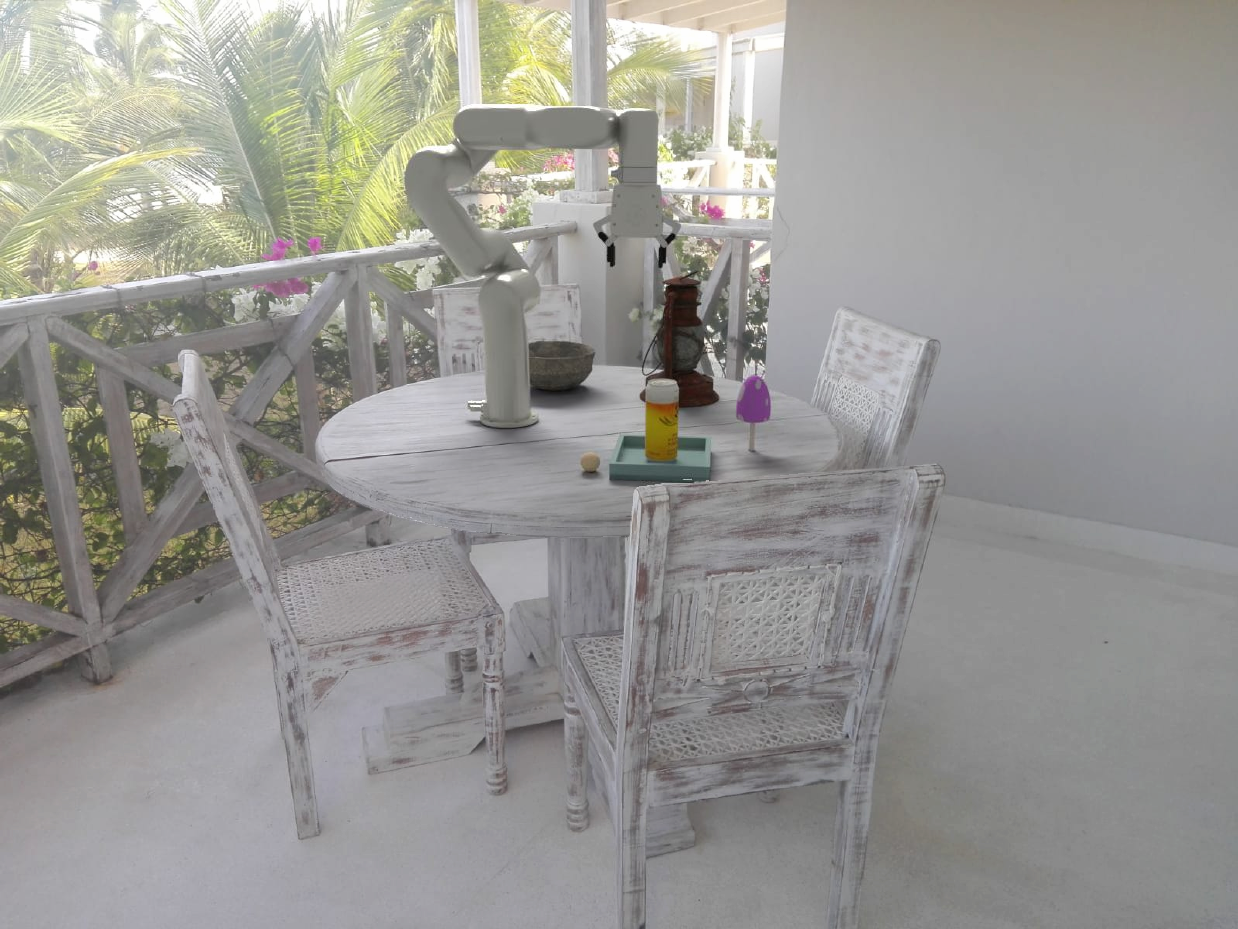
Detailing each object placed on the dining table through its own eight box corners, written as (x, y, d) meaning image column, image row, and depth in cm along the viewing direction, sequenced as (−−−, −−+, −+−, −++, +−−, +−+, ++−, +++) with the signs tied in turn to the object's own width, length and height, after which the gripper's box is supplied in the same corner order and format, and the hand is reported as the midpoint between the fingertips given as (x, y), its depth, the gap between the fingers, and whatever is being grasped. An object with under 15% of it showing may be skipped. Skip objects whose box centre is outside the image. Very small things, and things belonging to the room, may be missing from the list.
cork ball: (579, 474, 173) (579, 455, 171) (582, 467, 176) (581, 449, 175) (598, 474, 172) (598, 456, 171) (601, 468, 176) (601, 449, 174)
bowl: (594, 399, 222) (594, 358, 219) (507, 399, 223) (505, 357, 219) (597, 378, 242) (597, 340, 239) (517, 378, 242) (516, 339, 239)
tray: (609, 479, 170) (609, 463, 169) (619, 448, 187) (619, 434, 186) (709, 482, 168) (709, 466, 167) (710, 451, 185) (711, 436, 184)
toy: (760, 457, 182) (764, 381, 177) (728, 451, 185) (731, 376, 180) (773, 448, 187) (778, 374, 182) (743, 442, 191) (746, 370, 186)
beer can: (674, 465, 174) (676, 386, 169) (642, 463, 175) (643, 385, 170) (679, 455, 180) (681, 378, 175) (648, 453, 181) (648, 377, 176)
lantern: (657, 384, 236) (659, 262, 227) (729, 392, 229) (734, 267, 219) (626, 402, 220) (626, 272, 210) (703, 411, 213) (707, 277, 203)
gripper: (590, 177, 179) (590, 268, 185) (681, 178, 177) (678, 270, 183) (596, 175, 186) (596, 263, 192) (683, 176, 184) (681, 265, 190)
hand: (636, 266), depth 187 cm, fingers open, 9 cm apart
